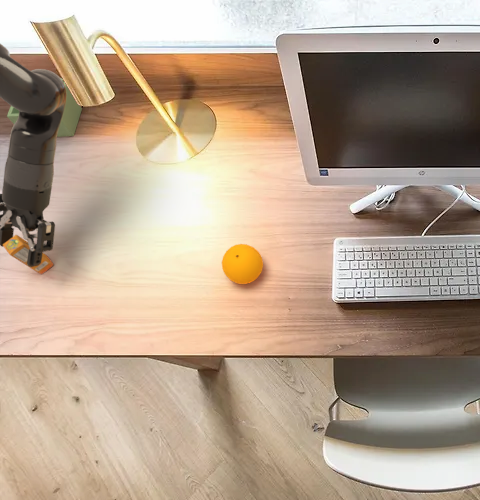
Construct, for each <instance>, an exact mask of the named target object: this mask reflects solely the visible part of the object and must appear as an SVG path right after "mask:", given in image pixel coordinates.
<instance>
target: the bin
mask: <svg viewBox="0 0 480 500" xmlns="http://www.w3.org/2000/svg"><path fill="white" fill-rule="evenodd" d="M60 78H61V80H62V81H63V79H62V78H63V77H60ZM63 83H64V85H65V88H66V94H67V96H66V104H65V109H64V113H63V116H62V120H61V123H60V126H59V129H58V133H57V138H62V137H63V138H64V137H74V136H75V133H76V131H77V128H78V127H77V126H78V124H79V120H80V117H81V114H82V111H83V108H81V106H79V105H78V104H77V103H76V101H75V100H74V98H73V96H72V94H71V93H70V91H69V89H68V87H67V86H66V84H65V82H64V81H63ZM18 116H19V110H17V109H15V108H14V107H12V106H11V105H10V107H9V110H8V112H7V115H6V118H8V119H9V121H10V122H11V123H12V124H13V125H14V124H15V123H16V121H17V119H18Z"/></svg>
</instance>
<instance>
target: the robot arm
mask: <svg viewBox="0 0 480 500" xmlns="http://www.w3.org/2000/svg"><path fill="white" fill-rule="evenodd" d="M61 78H62V77H60V76H59V75H58V74H57V73H55V72H53V71H51V70H50V69H49V70H48V69H44V68H36V69H32V70H30V69H28V68H27V67H26V66H23V65H22V64H21V63H19V61H17V60H15V59H14V58H13V57H11V53H10V51H9V50H8V49H7V47H6V46H4V45H3V44H2V43H0V99H2V100H3V101H4V102H6V103H7V104H8V105H9V106H10V107H11V106H12V107H14V108H15V109H17V110H19V116H18V119H17V121H16V123H15V124H13V126H12V128H11V130H10V135H9V140H8V141H9V142H8V151H7V157H6V160H5V164H4V173H3V181H2V192H1V193H0V213H1V212H2V214H0V247H3V248H4V246H3V244H4V243H6V242H7V241H8V240H9V239H11V238H12V237H14V232H15V228H17V230H19V231H20V232H21V234H22V239H24V240H25V241H27V242H28V245H29V248H30V249H29V252H28V260H27V265H28V266H29V267H28V266H27V265H26V266H27V267H28V268H30V267H34V266H38V265H39V264H40V263H41V260H42V253H44V252H48V251H53V249H54V239H55V231H56V223H55V222H54V221H52V220H51V221H47V220H45V219H44V211H45V210H46V209H47V208H48V207H49V206H50V202H51V196H52V195H51V194H52V188H53V181H54V174H55V167H54V165H55V158H56V157H55V156H56V149H57V138H58V137H57V133H58V129H59V126H60V123H61V120H62V116H63V113H64V109H65V104H66V96H67V94H66V88H65V85H64V83H63V81H62V80H61ZM34 231H37V232H36V233H31V232H34ZM34 239H36V243H35V240H34Z"/></svg>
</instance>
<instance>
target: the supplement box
mask: <svg viewBox="0 0 480 500" xmlns="http://www.w3.org/2000/svg"><path fill="white" fill-rule="evenodd" d="M3 246H4V247H3V248H4V249H5V250H6V252H7V253H8V254H9V256H11V257H12V258H14V259H16V260H17V261H19V262H21V263H22V264H24V265H26V266H27V267H28V268H30V269H31V270H33V271H35V272H36V273H38V274H39V275H43V274H44V273H46V272H47V271H48V270H50V269H51V268H52V267H54V266H55V265H54V263H53V261H52V260H51V259H50V257H49V256H47V254H45V253H44V252H43V253H42V260H41V263H40V264H39V265H38V266H34V267H29V266H28V265H27V260H28V252H29V249H30V248H29V245H28V241H27V240H25V239H24V238H23V237H21V236H19V235H18V234H14V235H13V237H12V238H11V239H9V240H8V241H7V242H6V243H4V244H3Z"/></svg>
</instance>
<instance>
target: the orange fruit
mask: <svg viewBox="0 0 480 500" xmlns="http://www.w3.org/2000/svg"><path fill="white" fill-rule="evenodd" d="M263 267H264V261H263V257H262V255H261V253H260V252H259V250H257V249H256V248H255V247H254V246H251V245H249V244H245V243H240V244H239V243H238V244H234V245H232V246H231V247H229V248H228V249H227V250H226V251H225V253H224V254H223V256H222V260H221V269H222V271H223V273H224V275H225V277H226V278H227V279H229V280H230V281H231V282H233V283H235V284H240V285H247V284H250V283H252V282H254V281H255V280H257V279H258V278H259V277H260V275H261V273H262V272H263Z"/></svg>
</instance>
